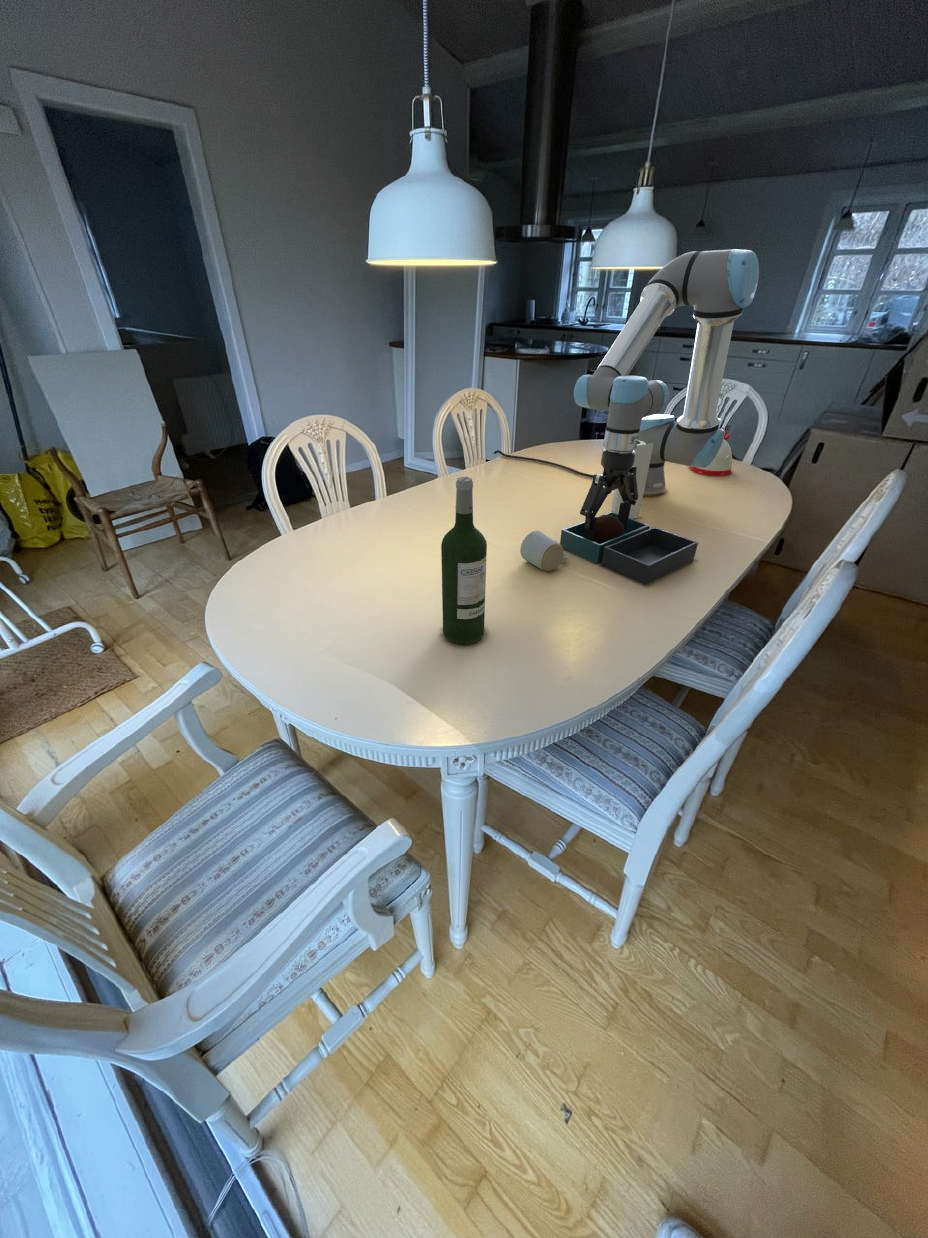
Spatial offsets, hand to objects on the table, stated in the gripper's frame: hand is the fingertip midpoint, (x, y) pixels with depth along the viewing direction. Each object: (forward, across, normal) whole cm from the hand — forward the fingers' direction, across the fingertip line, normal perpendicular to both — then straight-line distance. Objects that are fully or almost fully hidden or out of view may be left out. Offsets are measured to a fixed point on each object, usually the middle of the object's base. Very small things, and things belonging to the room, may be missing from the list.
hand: (605, 534), depth 130 cm
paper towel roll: (+3, +20, +9) cm, 22 cm away
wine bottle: (+3, -54, -9) cm, 55 cm away
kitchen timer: (+3, +85, +18) cm, 87 cm away
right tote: (+3, 0, -13) cm, 14 cm away
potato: (+3, 0, 0) cm, 3 cm away
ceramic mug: (+3, -20, +2) cm, 20 cm away
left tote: (+3, 0, 0) cm, 3 cm away
